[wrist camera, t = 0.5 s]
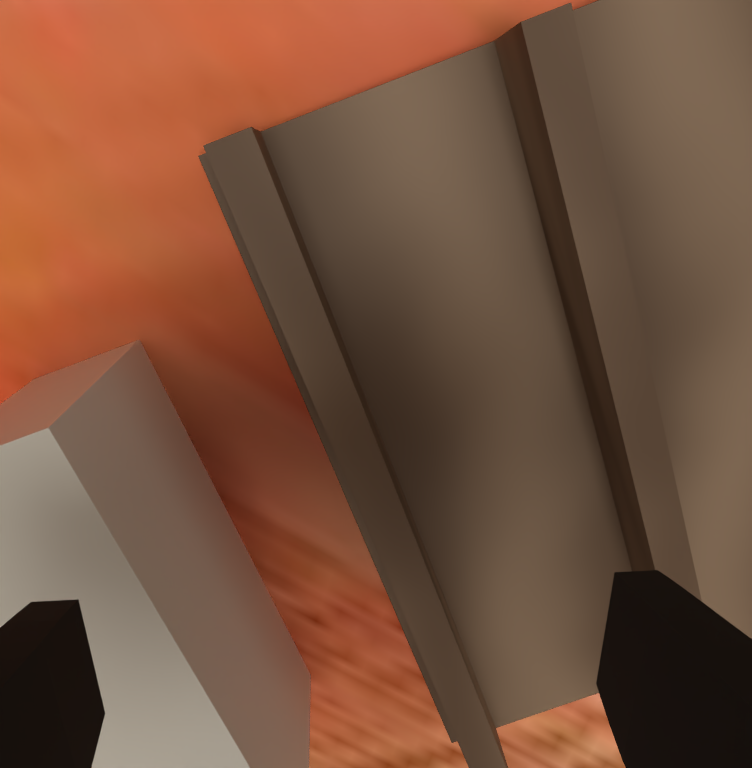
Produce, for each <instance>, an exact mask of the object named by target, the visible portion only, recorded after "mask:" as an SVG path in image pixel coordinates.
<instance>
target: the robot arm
mask: <svg viewBox="0 0 752 768" xmlns="http://www.w3.org/2000/svg"><path fill="white" fill-rule="evenodd" d="M596 685H597V688H598V691H599V694H600V697H601V700H602V703H603V706H604V709H605V712H606V715H607V718H608V721H609V724H610V727H611V730H612V732H613V735H614V738H615V741H616V743H617V746H618V749H619V752H620V754H621V757H622V760H623V762H624V764H625V767H626V768H752V639H751V638H750V637H748V636H747V635H746V634H744V633H743V632H742V631H740V630H739V629H738V628H736V627H735V626H734V625H732V624H731V623H730V622H728V621H727V620H726V619H724V618H723V617H722V616H720V615H719V614H718V613H716V612H715V611H714V610H712V609H711V608H710V607H708V606H707V605H706V604H704V603H703V602H702V601H700V600H699V599H698V598H696V597H695V596H694V595H692V594H691V593H689V592H688V591H687V590H685V589H684V588H683V587H681V586H680V585H678V584H677V583H676V582H674V581H673V580H672V579H670V578H669V577H667V576H666V575H664V574H663V573H661V572H660V571H658V570H648V571H629V572H614V578H613V584H612V590H611V597H610V603H609V609H608V615H607V621H606V627H605V633H604V639H603V645H602V651H601V657H600V663H599V669H598V675H597V681H596ZM104 716H105V710H104V706H103V702H102V697H101V693H100V689H99V685H98V680H97V676H96V672H95V667H94V663H93V659H92V655H91V650H90V646H89V642H88V638H87V633H86V629H85V625H84V621H83V616H82V612H81V608H80V604H79V599H77V600H57V601H37V602H30V603H29V604H28V605H27V606H25V607H24V608H23V609H22V610H20V611H19V612H18V613H17V614H16V615H14V616H13V617H12V618H11V619H10V620H8V621H7V622H6V623H5V624H4V625H3V626H1V627H0V768H91V767H92V763H93V760H94V756H95V752H96V748H97V744H98V740H99V736H100V732H101V728H102V724H103V720H104Z"/></svg>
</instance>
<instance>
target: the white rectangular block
mask: <svg viewBox="0 0 752 768" xmlns="http://www.w3.org/2000/svg"><path fill="white" fill-rule="evenodd" d="M77 599H79V604H80V608H81V612H82V616H83V621H84V625H85V629H86V633H87V638H88V642H89V646H90V650H91V655H92V659H93V663H94V667H95V672H96V676H97V680H98V685H99V689H100V693H101V697H102V702H103V706H104V710H105V716H104V720H103V724H102V728H101V732H100V736H99V740H98V744H97V748H96V752H95V756H94V760H93V763H92V768H309V743H310V694H311V674H310V673H309V671H308V669H307V667H306V665H305V663H304V661H303V659H302V657H301V655H300V653H299V651H298V649H297V647H296V645H295V643H294V641H293V639H292V637H291V635H290V633H289V631H288V629H287V627H286V625H285V624H284V622H283V620H282V618H281V616H280V614H279V612H278V610H277V608H276V606H275V604H274V602H273V600H272V598H271V596H270V594H269V592H268V590H267V588H266V586H265V584H264V582H263V580H262V578H261V576H260V575H259V573H258V571H257V569H256V567H255V565H254V563H253V561H252V559H251V557H250V555H249V553H248V551H247V549H246V547H245V545H244V543H243V541H242V539H241V537H240V535H239V533H238V531H237V529H236V527H235V526H234V524H233V522H232V520H231V518H230V516H229V514H228V512H227V510H226V508H225V506H224V504H223V502H222V500H221V498H220V496H219V494H218V492H217V490H216V488H215V486H214V484H213V482H212V480H211V478H210V476H209V475H208V473H207V471H206V469H205V467H204V465H203V463H202V461H201V459H200V457H199V455H198V453H197V451H196V449H195V447H194V445H193V443H192V441H191V439H190V437H189V435H188V433H187V431H186V429H185V427H184V426H183V424H182V422H181V420H180V418H179V416H178V414H177V412H176V410H175V408H174V406H173V404H172V402H171V400H170V398H169V396H168V394H167V392H166V390H165V388H164V386H163V384H162V382H161V380H160V378H159V377H158V375H157V373H156V371H155V369H154V367H153V365H152V363H151V361H150V359H149V357H148V355H147V353H146V351H145V349H144V347H143V345H142V343H141V341H140V339H139V340H137V341H134V342H131V343H129V344H126V345H123V346H121V347H118V348H115V349H113V350H110V351H108V352H105V353H102V354H100V355H97V356H94V357H92V358H89V359H86V360H84V361H81V362H78V363H76V364H73V365H70V366H68V367H65V368H62V369H60V370H57V371H54V372H52V373H49V374H46V375H44V376H41V377H38V378H36V379H33V380H32V381H31V382H29V383H28V384H27V385H25V386H24V387H23V388H21V389H20V390H19V391H17V392H16V393H15V394H13V395H12V396H11V397H9V398H8V399H7V400H5V401H4V402H3V403H1V404H0V627H1V626H3V625H4V624H5V623H6V622H7V621H8V620H10V619H11V618H12V617H13V616H14V615H16V614H17V613H18V612H19V611H20V610H22V609H23V608H24V607H25V606H27V605H28V604H29V603H30V602H37V601H57V600H77Z"/></svg>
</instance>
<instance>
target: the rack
mask: <svg viewBox="0 0 752 768" xmlns="http://www.w3.org/2000/svg"><path fill="white" fill-rule="evenodd" d="M204 149H205V151H206V153H205V154H202V155H200V156H199V159H200V161H201V163H202V166H203V168H204V170H205V173H206V175H207V177H208V180H209V182H210V184H211V187H212V189H213V191H214V194H215V196H216V198H217V200H218V203H219V205H220V207H221V210H222V212H223V214H224V217H225V219H226V221H227V224H228V226H229V228H230V231H231V233H232V235H233V237H234V240H235V242H236V244H237V247H238V249H239V251H240V254H241V256H242V258H243V261H244V263H245V265H246V268H247V270H248V272H249V275H250V277H251V279H252V281H253V284H254V286H255V288H256V291H257V293H258V295H259V298H260V300H261V302H262V305H263V307H264V309H265V312H266V314H267V316H268V318H269V321H270V323H271V325H272V328H273V330H274V332H275V335H276V337H277V339H278V342H279V344H280V346H281V349H282V351H283V353H284V355H285V358H286V360H287V362H288V365H289V367H290V369H291V372H292V374H293V376H294V379H295V381H296V383H297V386H298V388H299V390H300V393H301V395H302V397H303V399H304V402H305V404H306V406H307V409H308V411H309V413H310V416H311V418H312V420H313V423H314V425H315V427H316V430H317V432H318V434H319V436H320V439H321V441H322V443H323V446H324V448H325V450H326V453H327V455H328V457H329V460H330V462H331V464H332V467H333V469H334V471H335V473H336V476H337V478H338V480H339V483H340V485H341V487H342V490H343V492H344V494H345V497H346V499H347V501H348V504H349V506H350V508H351V511H352V513H353V515H354V517H355V520H356V522H357V524H358V527H359V529H360V531H361V534H362V536H363V538H364V541H365V543H366V545H367V548H368V550H369V552H370V554H371V557H372V559H373V561H374V564H375V566H376V568H377V571H378V573H379V575H380V578H381V580H382V582H383V585H384V587H385V589H386V592H387V594H388V596H389V598H390V601H391V603H392V605H393V608H394V610H395V612H396V615H397V617H398V619H399V622H400V624H401V626H402V629H403V631H404V633H405V635H406V638H407V640H408V642H409V645H410V647H411V649H412V652H413V654H414V656H415V659H416V661H417V663H418V666H419V668H420V670H421V672H422V675H423V677H424V679H425V682H426V684H427V686H428V689H429V691H430V693H431V696H432V698H433V700H434V703H435V705H436V707H437V710H438V712H439V714H440V716H441V719H442V721H443V723H444V726H445V728H446V730H447V733H448V735H449V737H450V740H451V742H452V743H453V742H456V741H458V743H459V745H460V748H461V750H462V752H463V755H464V757H465V759H466V762H467V764H468V767H469V768H508V766H507V763H506V760H505V756H504V753H503V750H502V747H501V743H500V740H499V737H498V734H497V730H496V728H497V727H500V726H503V725H506V724H509V723H512V722H515V721H517V720H520V719H523V718H526V717H529V716H532V715H535V714H538V713H541V712H544V711H547V710H550V709H553V708H555V707H558V706H561V705H564V704H567V703H570V702H573V701H576V700H579V699H582V698H585V697H588V696H591V695H594V694H596V693H599V691H598V688H597V685H596V681H597V675H598V669H599V663H600V657H601V651H602V645H603V639H604V633H605V627H606V621H607V615H608V609H609V603H610V597H611V590H612V584H613V578H614V572H629V571H648V570H658V571H660V572H661V573H663V574H664V575H666V576H667V577H669V578H670V579H672V580H673V581H674V582H676V583H677V584H678V585H680V586H681V587H683V588H684V589H685V590H687V591H688V592H689V593H691V594H692V595H694V596H695V597H696V598H698V599H699V600H700V601H702V602H703V603H704V604H706V605H707V606H708V607H710V608H711V609H712V610H714V611H715V612H716V613H718V614H719V615H720V616H722V617H723V618H724V619H726V620H727V621H728V622H730V623H731V624H732V625H734V626H735V627H736V628H738V629H739V630H740V631H742V632H743V633H744V634H746V635H747V636H748V637H750V638H751V639H752V0H598V1H596V2H593V3H591V4H588V5H586V6H583V7H580V8H578V9H575V10H573V9H572V5H571V3H569V4H566V5H563V6H561V7H558V8H556V9H553V10H551V11H548V12H545V13H543V14H540V15H538V16H535V17H533V18H530V19H527V20H525V21H522V22H520V23H519V24H517V25H516V26H515V27H513V28H512V29H510V30H509V31H508V32H506V33H505V34H503V35H502V36H501V37H499V38H498V39H496V40H495V41H493V42H490V43H488V44H485V45H483V46H480V47H478V48H475V49H472V50H470V51H467V52H465V53H462V54H460V55H457V56H454V57H452V58H449V59H447V60H444V61H442V62H439V63H436V64H434V65H431V66H429V67H426V68H423V69H421V70H418V71H416V72H413V73H411V74H408V75H405V76H403V77H400V78H398V79H395V80H393V81H390V82H387V83H385V84H382V85H380V86H377V87H375V88H372V89H369V90H367V91H364V92H362V93H359V94H357V95H354V96H351V97H349V98H346V99H344V100H341V101H339V102H336V103H333V104H331V105H328V106H326V107H323V108H321V109H318V110H315V111H313V112H310V113H308V114H305V115H303V116H300V117H297V118H295V119H292V120H290V121H287V122H285V123H282V124H279V125H277V126H274V127H272V128H269V129H267V130H264V131H261V132H260V131H258V130H256V129H254V128H252V127H250V128H247V129H245V130H242V131H240V132H237V133H235V134H232V135H229V136H227V137H224V138H222V139H219V140H217V141H214V142H211V143H209V144H206V145H204Z"/></svg>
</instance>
